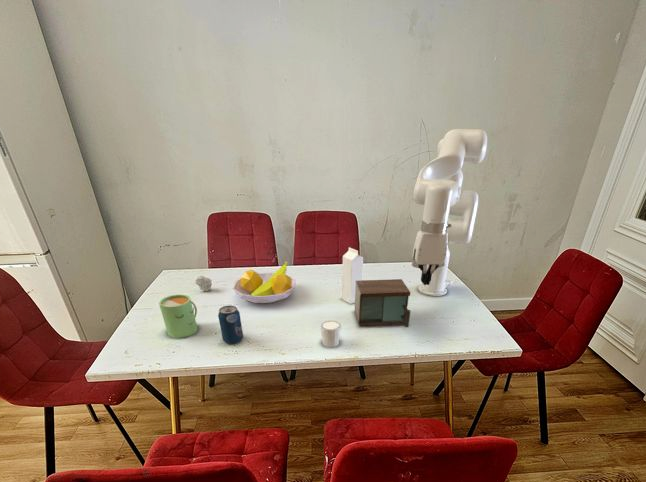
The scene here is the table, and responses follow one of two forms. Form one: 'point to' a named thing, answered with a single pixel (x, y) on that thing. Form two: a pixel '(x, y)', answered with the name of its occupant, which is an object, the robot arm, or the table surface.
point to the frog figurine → (203, 283)
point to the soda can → (230, 324)
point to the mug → (178, 315)
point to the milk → (351, 274)
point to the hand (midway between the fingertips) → (425, 283)
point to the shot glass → (330, 333)
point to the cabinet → (376, 300)
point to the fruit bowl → (265, 286)
